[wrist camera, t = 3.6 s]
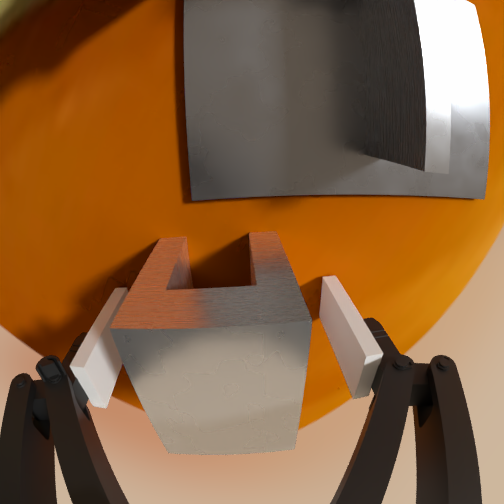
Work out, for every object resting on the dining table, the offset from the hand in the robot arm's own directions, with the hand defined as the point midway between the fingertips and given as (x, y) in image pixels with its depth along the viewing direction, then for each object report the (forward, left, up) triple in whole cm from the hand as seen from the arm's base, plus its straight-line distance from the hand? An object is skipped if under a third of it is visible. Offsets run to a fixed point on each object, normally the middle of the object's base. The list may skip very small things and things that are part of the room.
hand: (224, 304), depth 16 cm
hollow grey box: (0, 0, 0) cm, 0 cm away
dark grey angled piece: (+8, +13, 0) cm, 15 cm away
